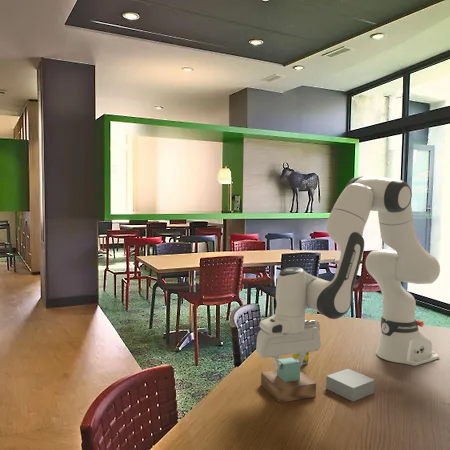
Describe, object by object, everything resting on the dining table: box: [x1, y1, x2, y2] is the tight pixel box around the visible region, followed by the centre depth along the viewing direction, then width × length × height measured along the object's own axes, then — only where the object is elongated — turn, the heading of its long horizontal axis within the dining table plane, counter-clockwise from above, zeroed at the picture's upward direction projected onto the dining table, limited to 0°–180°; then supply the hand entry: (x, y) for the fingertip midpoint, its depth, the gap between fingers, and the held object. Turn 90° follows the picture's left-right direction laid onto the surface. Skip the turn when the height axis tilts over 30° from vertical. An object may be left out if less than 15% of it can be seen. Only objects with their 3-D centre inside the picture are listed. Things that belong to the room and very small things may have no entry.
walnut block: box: [260, 369, 317, 404], centre depth 131 cm, size 12×12×4 cm
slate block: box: [325, 368, 376, 402], centre depth 132 cm, size 10×10×4 cm
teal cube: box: [277, 357, 301, 382], centre depth 131 cm, size 5×5×5 cm
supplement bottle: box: [292, 352, 310, 366], centre depth 153 cm, size 6×6×10 cm
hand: (288, 367), depth 131 cm, fingers open, 5 cm apart
